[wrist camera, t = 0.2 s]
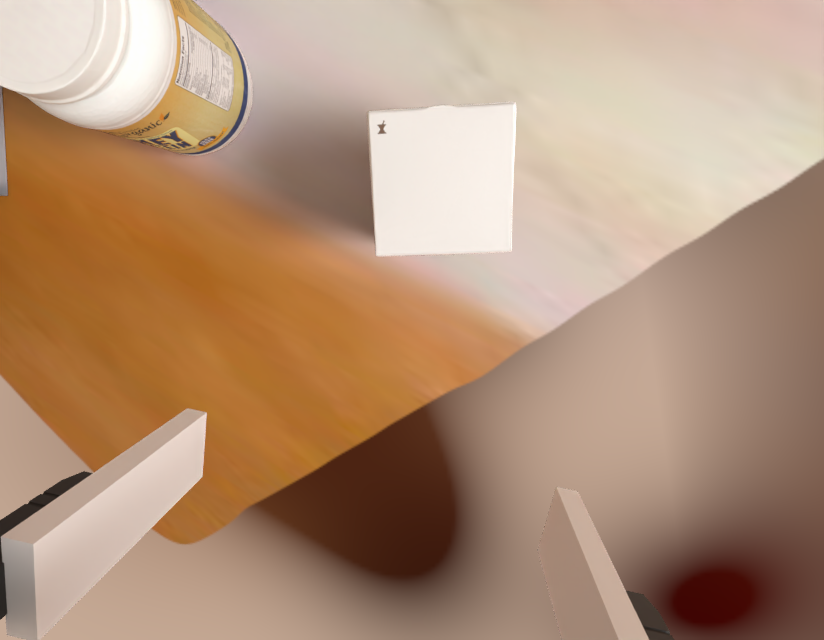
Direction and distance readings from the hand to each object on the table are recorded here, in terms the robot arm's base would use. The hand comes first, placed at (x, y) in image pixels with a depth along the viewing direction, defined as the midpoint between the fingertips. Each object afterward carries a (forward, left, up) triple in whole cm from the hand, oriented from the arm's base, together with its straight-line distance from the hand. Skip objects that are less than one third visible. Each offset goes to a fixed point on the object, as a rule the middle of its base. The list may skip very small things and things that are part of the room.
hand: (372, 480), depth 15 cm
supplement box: (-12, 0, -28) cm, 31 cm away
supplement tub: (-18, -25, -28) cm, 42 cm away
